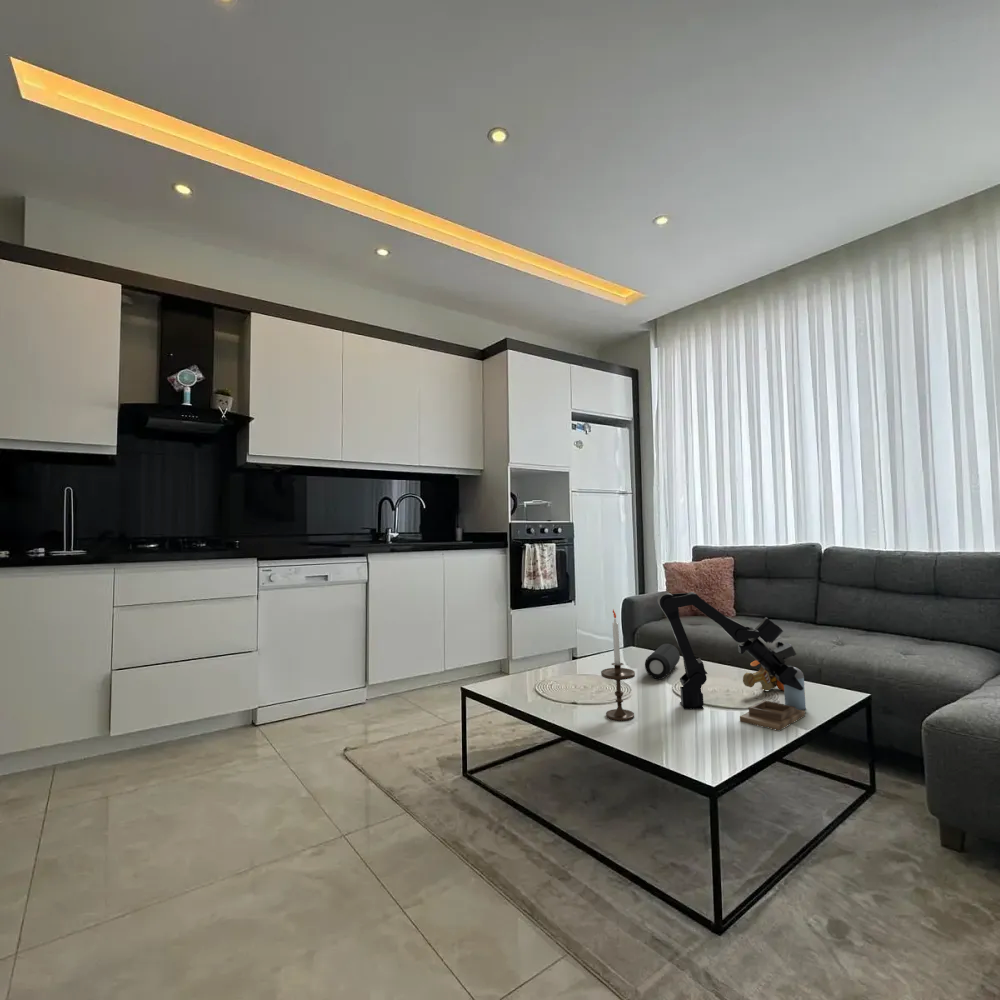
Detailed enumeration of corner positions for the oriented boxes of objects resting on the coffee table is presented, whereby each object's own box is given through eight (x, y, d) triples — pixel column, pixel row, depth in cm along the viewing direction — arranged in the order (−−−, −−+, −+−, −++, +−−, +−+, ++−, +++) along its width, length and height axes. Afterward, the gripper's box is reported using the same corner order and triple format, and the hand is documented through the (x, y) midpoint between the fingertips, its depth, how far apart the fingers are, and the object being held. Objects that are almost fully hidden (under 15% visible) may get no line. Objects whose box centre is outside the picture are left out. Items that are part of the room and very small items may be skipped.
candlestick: (597, 714, 185) (591, 608, 187) (624, 709, 189) (619, 605, 191) (614, 724, 175) (609, 612, 177) (643, 718, 179) (638, 609, 180)
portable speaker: (658, 664, 246) (657, 641, 246) (681, 666, 241) (680, 643, 242) (643, 679, 224) (642, 654, 224) (669, 681, 219) (667, 656, 219)
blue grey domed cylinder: (789, 709, 181) (787, 669, 181) (782, 704, 187) (779, 664, 187) (808, 709, 180) (806, 669, 181) (800, 703, 186) (798, 664, 187)
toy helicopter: (790, 688, 203) (788, 651, 204) (757, 700, 192) (754, 660, 193) (769, 684, 210) (767, 647, 211) (736, 695, 199) (733, 656, 199)
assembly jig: (779, 731, 164) (778, 719, 164) (740, 721, 173) (739, 709, 174) (805, 715, 176) (804, 704, 176) (766, 707, 185) (766, 696, 185)
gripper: (788, 641, 176) (828, 677, 174) (769, 630, 194) (804, 662, 192) (763, 666, 177) (802, 702, 174) (746, 653, 195) (782, 685, 193)
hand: (798, 686), depth 183 cm, fingers closed on blue grey domed cylinder, 6 cm apart
